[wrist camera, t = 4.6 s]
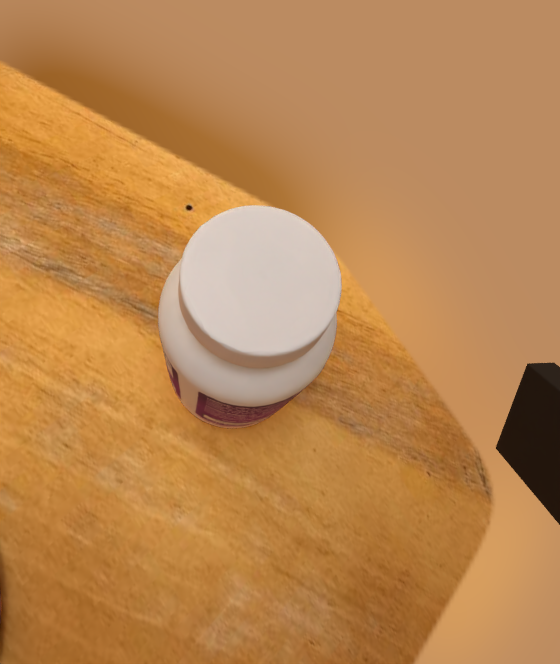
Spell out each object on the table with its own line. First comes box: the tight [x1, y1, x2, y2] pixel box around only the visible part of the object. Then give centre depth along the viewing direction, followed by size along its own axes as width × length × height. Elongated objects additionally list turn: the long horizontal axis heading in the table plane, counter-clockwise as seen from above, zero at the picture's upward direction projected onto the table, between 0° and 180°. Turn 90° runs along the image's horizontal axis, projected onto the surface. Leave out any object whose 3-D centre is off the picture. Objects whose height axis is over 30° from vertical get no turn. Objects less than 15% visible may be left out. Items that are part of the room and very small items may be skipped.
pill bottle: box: [158, 205, 341, 428], centre depth 16 cm, size 5×5×10 cm
